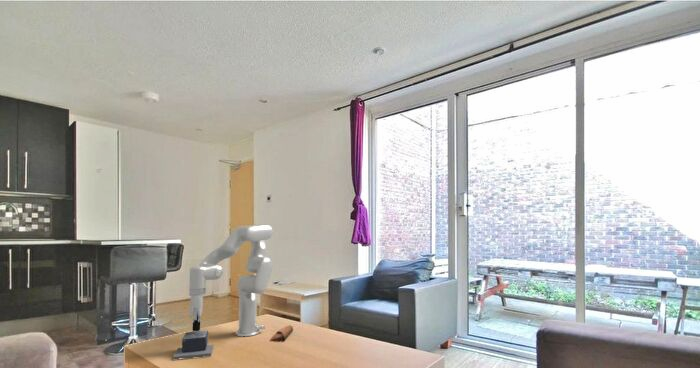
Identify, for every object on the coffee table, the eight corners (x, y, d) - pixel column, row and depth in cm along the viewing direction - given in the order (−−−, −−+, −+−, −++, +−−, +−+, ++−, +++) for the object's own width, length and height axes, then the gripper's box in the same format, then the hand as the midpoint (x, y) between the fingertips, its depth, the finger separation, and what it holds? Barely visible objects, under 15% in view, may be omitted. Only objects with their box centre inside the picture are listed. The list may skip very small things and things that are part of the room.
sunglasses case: (278, 331, 209) (284, 320, 210) (288, 337, 208) (294, 327, 209) (268, 341, 192) (275, 330, 192) (280, 348, 191) (286, 337, 191)
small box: (185, 345, 181) (181, 353, 171) (185, 332, 182) (181, 338, 172) (208, 343, 184) (205, 350, 174) (208, 330, 185) (206, 336, 175)
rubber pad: (213, 348, 182) (213, 344, 182) (210, 356, 171) (211, 353, 171) (177, 351, 178) (178, 348, 178) (172, 360, 167) (173, 356, 167)
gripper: (191, 289, 189) (190, 327, 187) (186, 295, 174) (185, 335, 172) (207, 288, 191) (206, 325, 189) (203, 294, 176) (202, 334, 174)
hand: (196, 330), depth 181 cm, fingers closed
